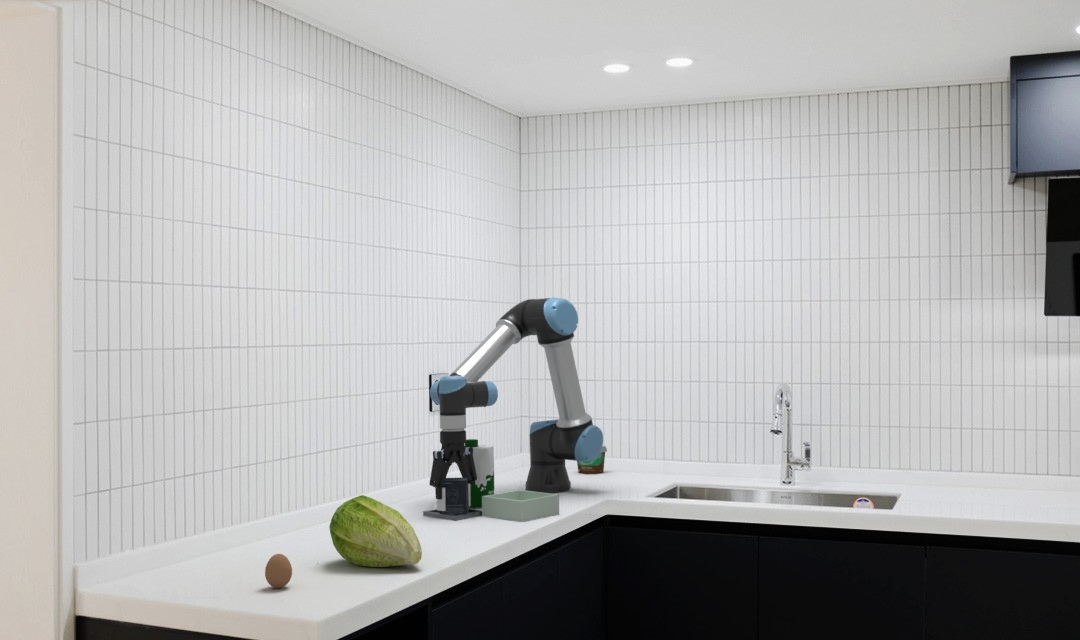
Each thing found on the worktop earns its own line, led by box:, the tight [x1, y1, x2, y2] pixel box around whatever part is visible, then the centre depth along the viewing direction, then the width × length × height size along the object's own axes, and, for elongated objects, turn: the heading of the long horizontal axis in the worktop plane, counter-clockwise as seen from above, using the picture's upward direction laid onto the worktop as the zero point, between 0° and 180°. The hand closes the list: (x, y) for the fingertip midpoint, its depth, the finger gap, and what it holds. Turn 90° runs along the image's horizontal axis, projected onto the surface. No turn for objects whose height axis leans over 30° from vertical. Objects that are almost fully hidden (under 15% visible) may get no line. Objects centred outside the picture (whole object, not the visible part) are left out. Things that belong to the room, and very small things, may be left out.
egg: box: [264, 553, 293, 589], centre depth 217 cm, size 5×5×7 cm
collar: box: [422, 508, 483, 522], centre depth 303 cm, size 12×14×1 cm
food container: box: [576, 445, 608, 475], centre depth 391 cm, size 12×6×10 cm, turn 81°
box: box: [440, 477, 469, 515], centre depth 303 cm, size 8×6×11 cm
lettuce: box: [329, 494, 423, 568], centre depth 238 cm, size 15×25×16 cm
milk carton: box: [464, 438, 495, 509], centre depth 319 cm, size 9×9×20 cm
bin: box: [481, 489, 560, 522], centre depth 302 cm, size 16×16×6 cm
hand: (454, 508), depth 303 cm, fingers closed on box, 9 cm apart
